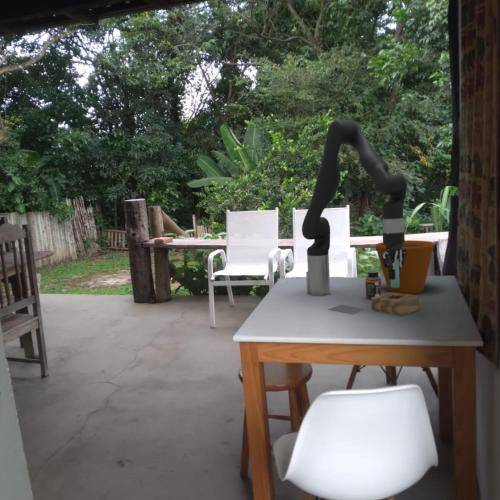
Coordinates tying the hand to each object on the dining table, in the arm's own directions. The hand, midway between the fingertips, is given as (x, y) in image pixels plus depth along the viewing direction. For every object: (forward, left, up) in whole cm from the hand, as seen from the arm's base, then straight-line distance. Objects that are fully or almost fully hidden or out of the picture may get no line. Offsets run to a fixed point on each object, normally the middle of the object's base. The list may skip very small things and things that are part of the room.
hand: (394, 278), depth 175 cm
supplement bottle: (-16, +10, -12) cm, 22 cm away
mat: (-14, -10, -12) cm, 21 cm away
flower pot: (-15, +32, -12) cm, 37 cm away
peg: (0, 0, -3) cm, 3 cm away
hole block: (0, 0, -12) cm, 12 cm away
